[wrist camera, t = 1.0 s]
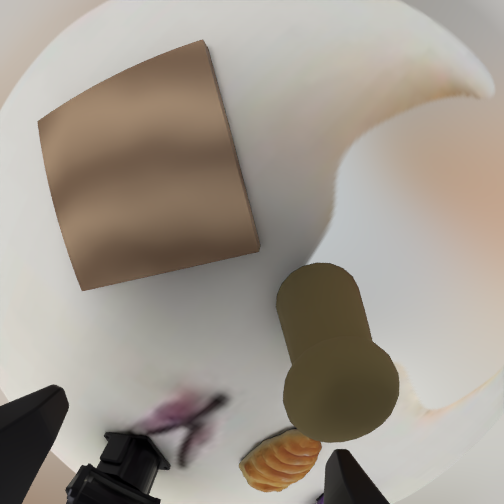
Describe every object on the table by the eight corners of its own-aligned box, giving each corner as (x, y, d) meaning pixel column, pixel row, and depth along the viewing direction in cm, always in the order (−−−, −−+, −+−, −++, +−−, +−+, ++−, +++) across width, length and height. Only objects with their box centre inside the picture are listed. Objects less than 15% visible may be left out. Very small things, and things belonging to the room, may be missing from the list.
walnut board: (260, 245, 20) (258, 251, 18) (91, 284, 22) (81, 291, 20) (207, 47, 16) (202, 39, 15) (49, 122, 18) (37, 121, 17)
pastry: (278, 415, 24) (278, 446, 21) (338, 432, 25) (343, 461, 21) (236, 460, 27) (232, 486, 23) (289, 474, 27) (289, 499, 24)
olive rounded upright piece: (328, 351, 22) (353, 468, 11) (260, 316, 21) (244, 437, 11) (376, 288, 20) (444, 388, 9) (306, 246, 20) (335, 335, 9)
